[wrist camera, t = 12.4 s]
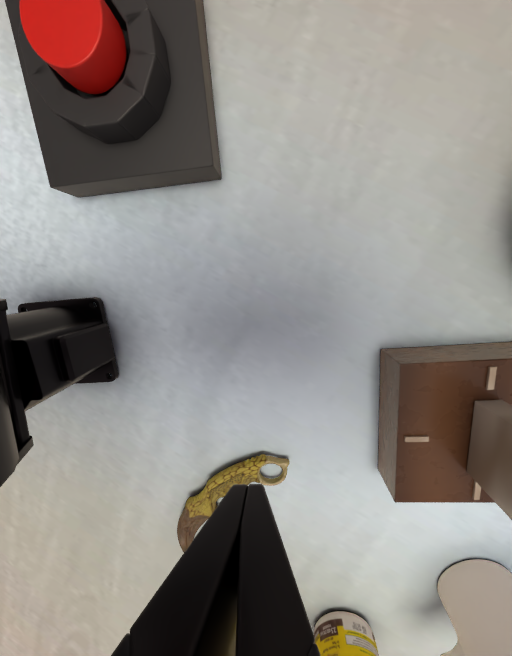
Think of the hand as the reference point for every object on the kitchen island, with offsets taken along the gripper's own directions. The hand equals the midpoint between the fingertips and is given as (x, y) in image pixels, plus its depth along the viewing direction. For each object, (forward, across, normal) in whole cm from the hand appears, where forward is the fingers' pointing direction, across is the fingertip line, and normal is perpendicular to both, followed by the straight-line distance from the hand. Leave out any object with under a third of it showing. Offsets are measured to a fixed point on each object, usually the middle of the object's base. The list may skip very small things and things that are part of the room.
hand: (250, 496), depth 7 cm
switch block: (+12, +7, -17) cm, 22 cm away
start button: (+8, +7, -17) cm, 20 cm away
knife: (+12, +5, +13) cm, 18 cm away
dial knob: (+9, -13, +5) cm, 17 cm away
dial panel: (+12, -13, +5) cm, 18 cm away
